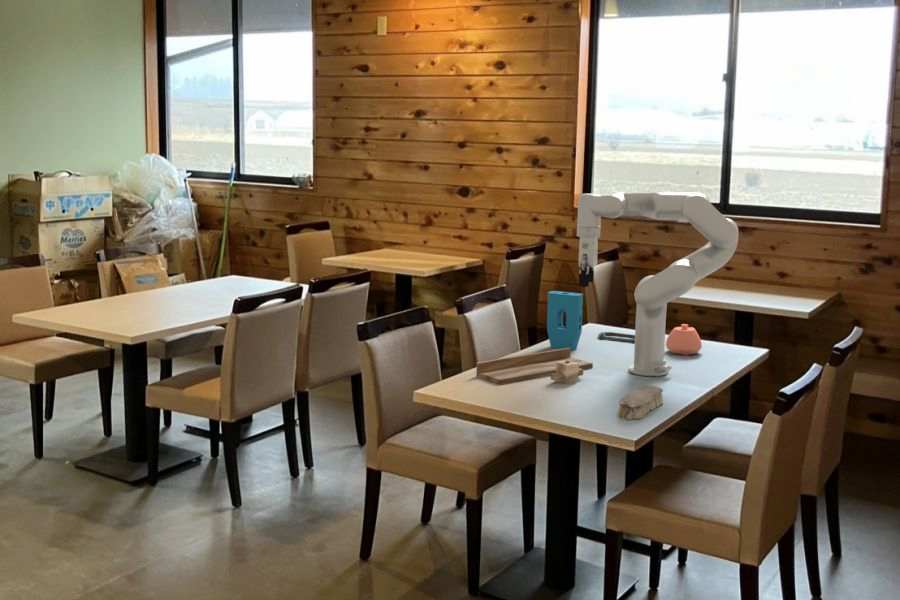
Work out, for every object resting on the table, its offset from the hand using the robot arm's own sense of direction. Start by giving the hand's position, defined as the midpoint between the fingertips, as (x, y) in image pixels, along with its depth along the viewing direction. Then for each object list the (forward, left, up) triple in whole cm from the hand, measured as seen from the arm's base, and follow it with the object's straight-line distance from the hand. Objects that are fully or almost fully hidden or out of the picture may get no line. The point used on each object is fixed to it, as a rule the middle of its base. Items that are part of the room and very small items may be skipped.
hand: (586, 284), depth 320 cm
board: (+3, +18, -28) cm, 33 cm away
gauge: (-11, +17, -28) cm, 34 cm away
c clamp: (+23, -41, -29) cm, 55 cm away
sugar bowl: (-4, -45, -28) cm, 53 cm away
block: (+25, -13, -28) cm, 40 cm away
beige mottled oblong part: (-46, +20, -28) cm, 58 cm away
